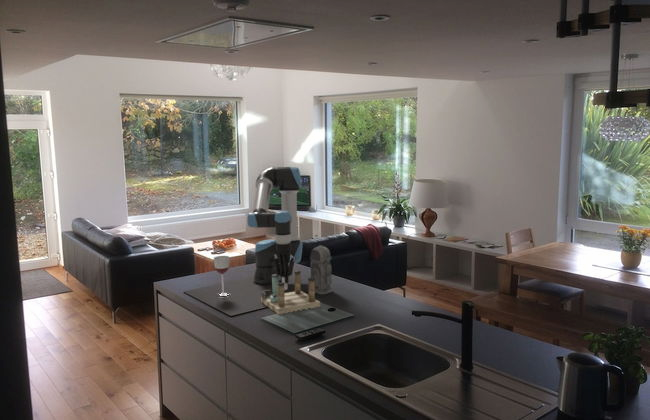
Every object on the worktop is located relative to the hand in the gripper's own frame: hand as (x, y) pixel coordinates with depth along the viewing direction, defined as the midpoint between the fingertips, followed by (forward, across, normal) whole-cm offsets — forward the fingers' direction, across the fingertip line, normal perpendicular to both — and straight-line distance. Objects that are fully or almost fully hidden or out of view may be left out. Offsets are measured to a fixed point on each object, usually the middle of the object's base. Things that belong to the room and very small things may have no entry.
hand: (284, 289), depth 271 cm
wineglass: (+7, +36, +4) cm, 37 cm away
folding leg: (+4, +3, +5) cm, 7 cm away
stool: (+7, -4, +1) cm, 8 cm away
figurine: (+7, -7, -26) cm, 27 cm away
